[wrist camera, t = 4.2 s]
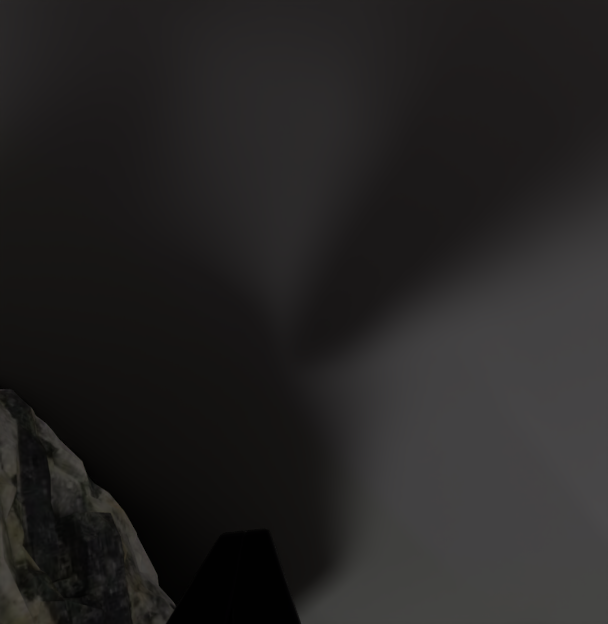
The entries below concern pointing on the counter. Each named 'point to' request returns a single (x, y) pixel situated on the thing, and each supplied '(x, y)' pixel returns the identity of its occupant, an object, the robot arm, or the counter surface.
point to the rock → (65, 536)
